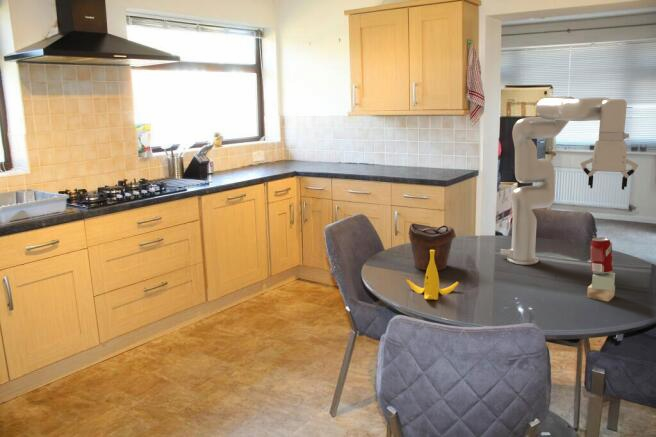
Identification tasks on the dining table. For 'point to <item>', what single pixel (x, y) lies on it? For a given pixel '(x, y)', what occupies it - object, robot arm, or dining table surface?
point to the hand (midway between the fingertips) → (606, 188)
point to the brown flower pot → (430, 244)
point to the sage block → (603, 281)
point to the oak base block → (600, 293)
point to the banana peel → (431, 282)
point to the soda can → (601, 255)
